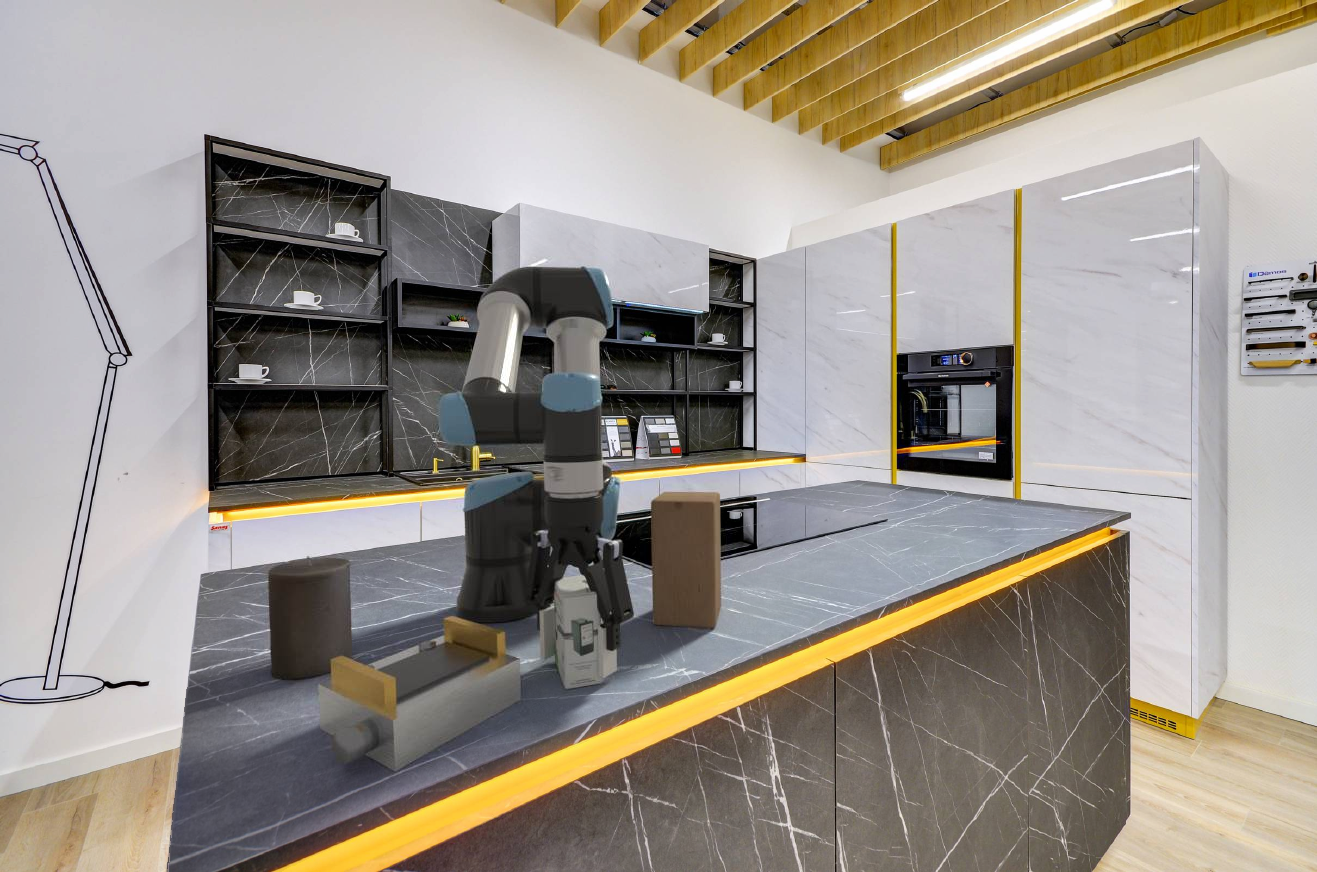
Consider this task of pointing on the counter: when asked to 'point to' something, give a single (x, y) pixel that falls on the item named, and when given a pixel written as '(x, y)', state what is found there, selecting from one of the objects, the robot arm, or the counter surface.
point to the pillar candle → (309, 616)
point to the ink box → (576, 632)
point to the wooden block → (686, 559)
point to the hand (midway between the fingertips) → (577, 664)
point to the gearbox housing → (418, 695)
